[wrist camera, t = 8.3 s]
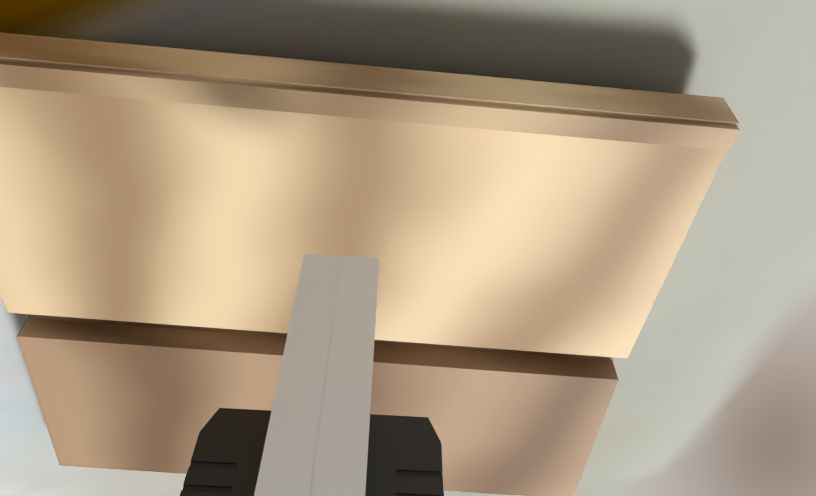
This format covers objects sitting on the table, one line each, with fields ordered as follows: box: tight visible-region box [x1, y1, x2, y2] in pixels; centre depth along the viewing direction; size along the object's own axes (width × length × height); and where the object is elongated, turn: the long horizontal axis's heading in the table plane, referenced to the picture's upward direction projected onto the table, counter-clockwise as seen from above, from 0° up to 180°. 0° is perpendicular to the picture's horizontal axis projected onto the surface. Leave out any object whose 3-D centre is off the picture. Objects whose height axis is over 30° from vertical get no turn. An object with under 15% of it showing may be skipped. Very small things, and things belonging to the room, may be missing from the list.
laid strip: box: [16, 314, 618, 496], centre depth 25 cm, size 20×8×1 cm, turn 85°
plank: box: [0, 32, 739, 358], centre depth 20 cm, size 20×9×1 cm, turn 85°
